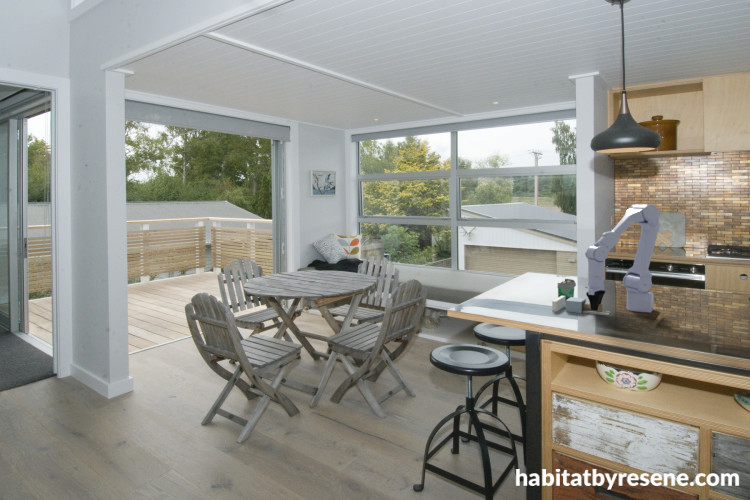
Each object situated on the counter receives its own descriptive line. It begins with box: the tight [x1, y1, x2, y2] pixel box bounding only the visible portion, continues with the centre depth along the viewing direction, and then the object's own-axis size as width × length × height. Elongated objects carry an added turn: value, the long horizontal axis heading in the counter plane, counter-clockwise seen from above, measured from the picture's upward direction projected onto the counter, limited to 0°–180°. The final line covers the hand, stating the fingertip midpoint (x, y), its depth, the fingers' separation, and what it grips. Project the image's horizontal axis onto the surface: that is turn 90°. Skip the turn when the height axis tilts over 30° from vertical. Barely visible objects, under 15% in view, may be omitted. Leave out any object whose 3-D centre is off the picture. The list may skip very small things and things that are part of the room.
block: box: [565, 296, 587, 314], centre depth 193 cm, size 6×7×6 cm
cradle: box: [582, 310, 611, 316], centre depth 188 cm, size 9×5×2 cm, turn 51°
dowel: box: [582, 302, 604, 312], centre depth 189 cm, size 8×3×3 cm, turn 51°
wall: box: [551, 296, 566, 313], centre depth 197 cm, size 2×12×6 cm, turn 141°
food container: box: [557, 278, 577, 303], centre depth 211 cm, size 12×6×10 cm, turn 143°
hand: (595, 309), depth 188 cm, fingers closed on dowel, 3 cm apart
